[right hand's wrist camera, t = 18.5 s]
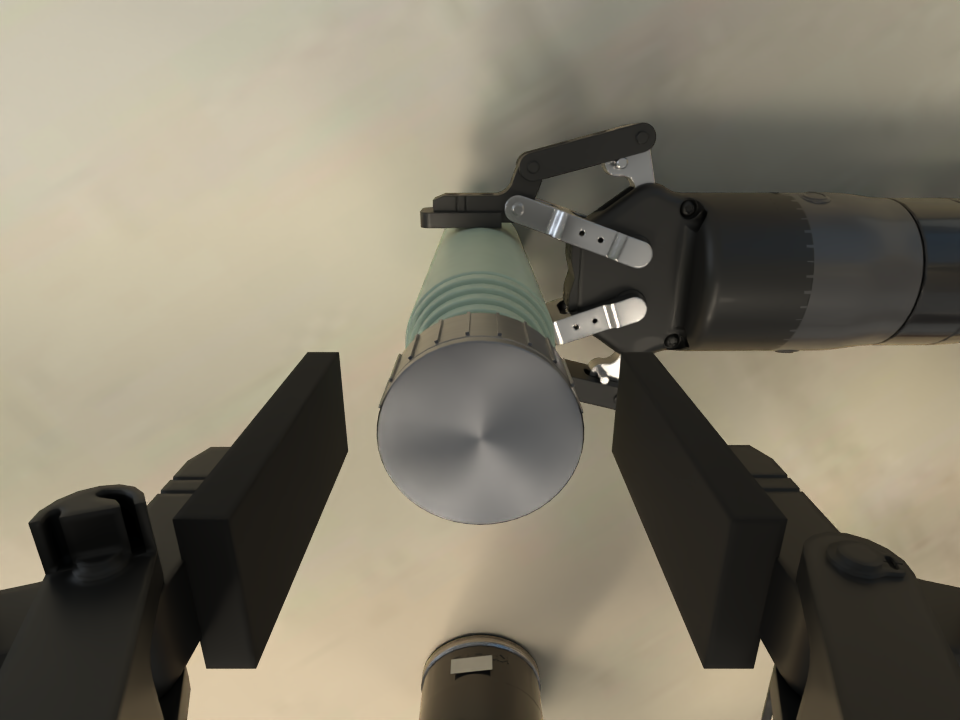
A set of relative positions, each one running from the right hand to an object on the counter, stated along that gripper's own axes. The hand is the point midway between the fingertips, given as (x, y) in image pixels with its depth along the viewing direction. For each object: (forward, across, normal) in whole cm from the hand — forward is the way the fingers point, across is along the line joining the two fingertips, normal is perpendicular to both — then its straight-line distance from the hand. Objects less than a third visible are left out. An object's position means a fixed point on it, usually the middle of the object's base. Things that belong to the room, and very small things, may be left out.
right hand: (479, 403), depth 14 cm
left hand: (+15, -3, 0) cm, 15 cm away
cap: (-1, 0, 0) cm, 1 cm away
